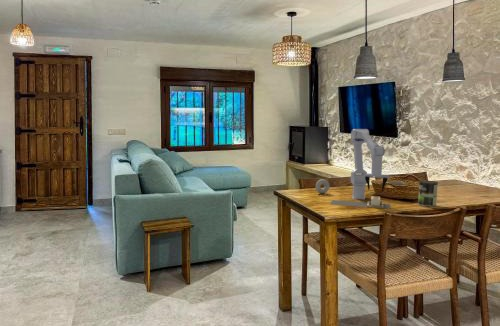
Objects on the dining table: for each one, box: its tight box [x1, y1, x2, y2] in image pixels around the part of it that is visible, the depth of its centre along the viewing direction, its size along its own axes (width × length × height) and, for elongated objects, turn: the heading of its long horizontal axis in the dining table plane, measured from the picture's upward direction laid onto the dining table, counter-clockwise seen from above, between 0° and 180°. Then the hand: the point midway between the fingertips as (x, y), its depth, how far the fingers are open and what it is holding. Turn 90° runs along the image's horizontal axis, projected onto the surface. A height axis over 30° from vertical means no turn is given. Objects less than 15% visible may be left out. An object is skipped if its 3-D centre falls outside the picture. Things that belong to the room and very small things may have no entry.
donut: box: [315, 178, 330, 195], centre depth 284 cm, size 10×4×10 cm, turn 107°
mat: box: [330, 199, 392, 210], centre depth 251 cm, size 13×34×1 cm, turn 73°
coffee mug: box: [388, 180, 406, 186], centre depth 274 cm, size 13×10×10 cm
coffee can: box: [417, 179, 439, 207], centre depth 252 cm, size 10×10×14 cm
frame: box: [366, 200, 384, 209], centre depth 248 cm, size 13×9×1 cm
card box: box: [370, 195, 381, 206], centre depth 248 cm, size 9×5×5 cm, turn 163°
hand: (375, 190), depth 247 cm, fingers open, 7 cm apart
